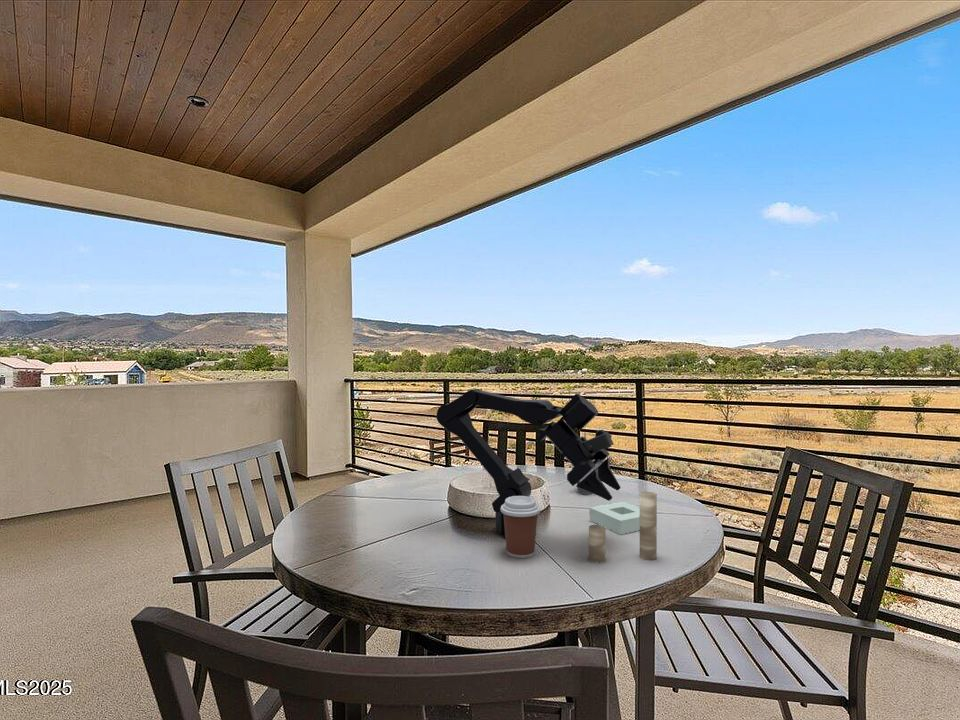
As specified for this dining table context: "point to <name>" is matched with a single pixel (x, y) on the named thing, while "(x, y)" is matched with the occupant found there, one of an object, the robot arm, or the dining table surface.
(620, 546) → the dining table surface
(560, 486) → the dining table surface
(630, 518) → the collar block
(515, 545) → the coffee cup
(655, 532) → the tall pin
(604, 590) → the dining table surface
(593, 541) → the short pin
